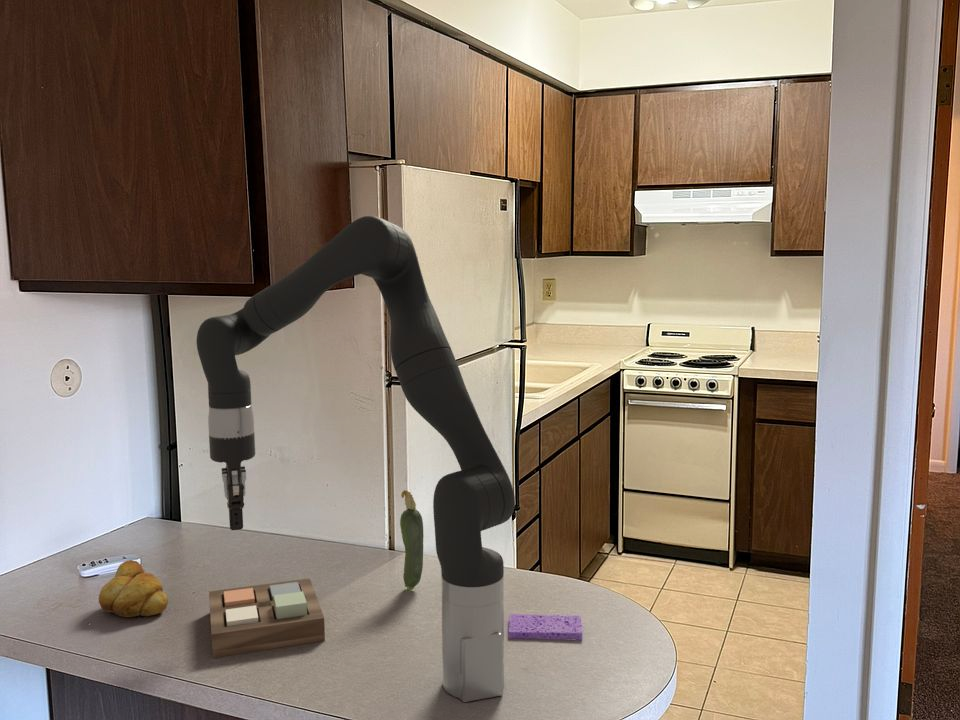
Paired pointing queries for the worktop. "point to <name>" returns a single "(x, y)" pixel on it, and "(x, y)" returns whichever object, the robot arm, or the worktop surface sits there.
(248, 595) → the key terracotta
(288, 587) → the key slate
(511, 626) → the sponges
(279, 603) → the key sage
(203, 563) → the worktop surface
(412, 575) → the vegetable
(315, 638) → the keypad
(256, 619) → the key cream
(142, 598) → the bread roll
